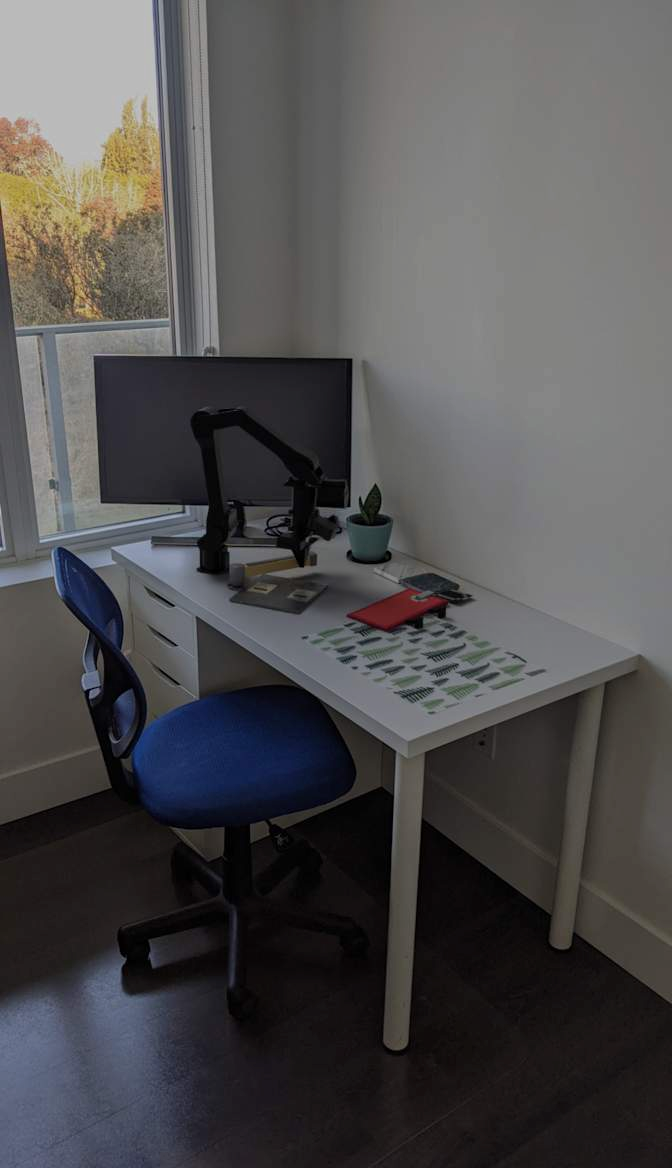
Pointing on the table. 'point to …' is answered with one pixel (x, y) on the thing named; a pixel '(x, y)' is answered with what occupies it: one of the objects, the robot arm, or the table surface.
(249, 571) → the swing arm
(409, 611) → the red board with handle
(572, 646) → the table surface
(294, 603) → the panel
